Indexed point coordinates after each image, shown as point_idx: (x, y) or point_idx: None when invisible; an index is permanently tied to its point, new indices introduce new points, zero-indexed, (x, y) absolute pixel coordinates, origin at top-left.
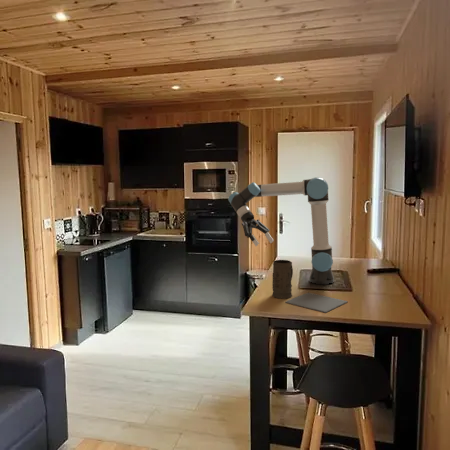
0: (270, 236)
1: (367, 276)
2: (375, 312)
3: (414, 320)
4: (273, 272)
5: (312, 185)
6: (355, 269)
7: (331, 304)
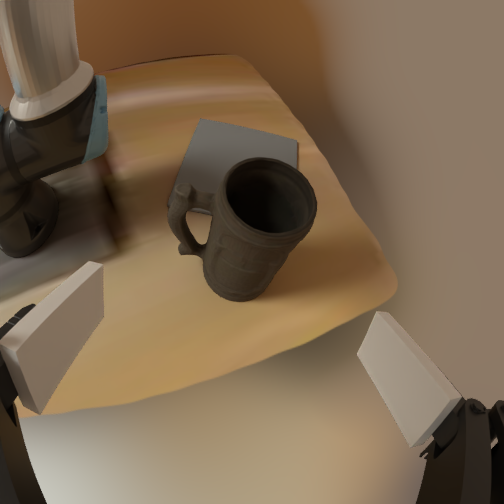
0: (65, 294)
1: None
2: (235, 88)
3: (240, 62)
4: (287, 255)
5: None
6: None
7: (243, 137)
